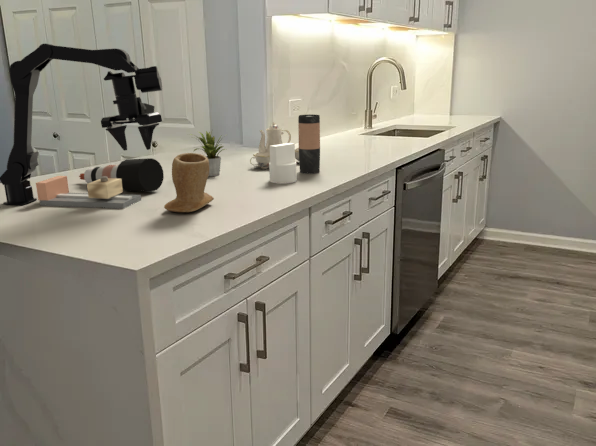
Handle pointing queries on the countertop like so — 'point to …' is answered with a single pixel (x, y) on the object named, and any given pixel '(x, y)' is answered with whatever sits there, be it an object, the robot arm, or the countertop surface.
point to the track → (77, 196)
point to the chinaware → (272, 139)
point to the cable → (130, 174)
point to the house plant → (211, 153)
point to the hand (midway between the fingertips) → (136, 149)
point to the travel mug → (309, 143)
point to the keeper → (104, 187)
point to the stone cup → (189, 182)
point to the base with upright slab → (282, 163)
